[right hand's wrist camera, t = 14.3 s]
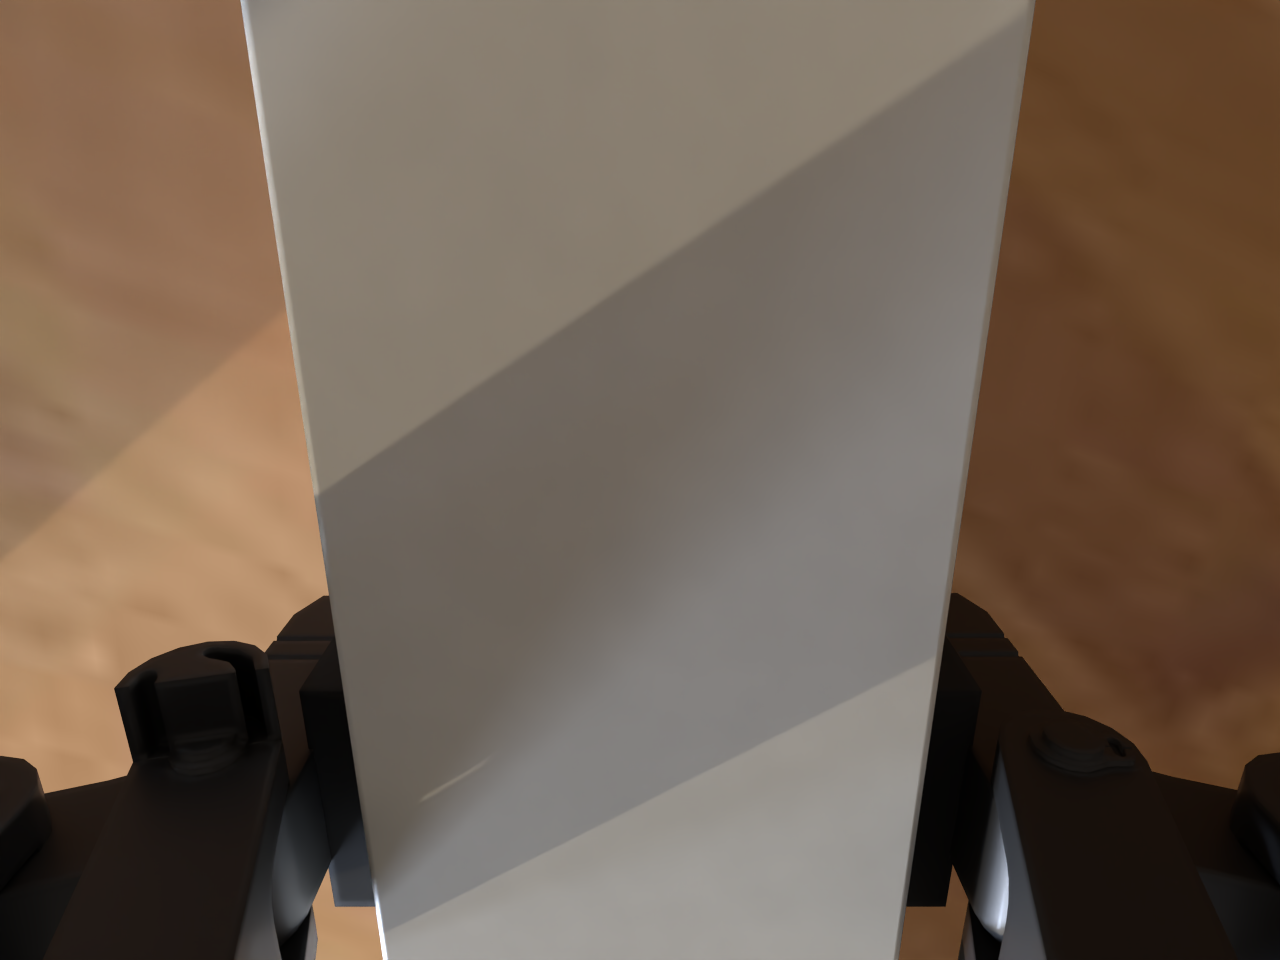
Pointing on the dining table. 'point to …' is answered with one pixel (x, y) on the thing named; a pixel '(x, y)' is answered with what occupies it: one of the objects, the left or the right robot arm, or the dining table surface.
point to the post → (639, 445)
